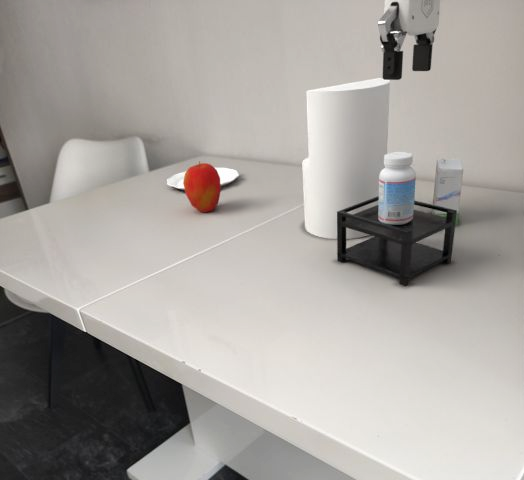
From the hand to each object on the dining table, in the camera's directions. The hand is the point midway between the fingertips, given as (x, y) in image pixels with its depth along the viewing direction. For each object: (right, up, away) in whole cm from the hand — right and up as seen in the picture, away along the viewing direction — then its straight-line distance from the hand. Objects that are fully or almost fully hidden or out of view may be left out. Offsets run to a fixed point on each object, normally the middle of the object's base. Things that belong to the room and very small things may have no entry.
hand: (407, 75), depth 90 cm
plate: (-41, +3, +67) cm, 79 cm away
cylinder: (-6, -18, +29) cm, 35 cm away
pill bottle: (0, -23, +6) cm, 24 cm away
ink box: (+15, -18, +27) cm, 35 cm away
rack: (0, -29, +10) cm, 31 cm away
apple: (-38, -11, +45) cm, 60 cm away
